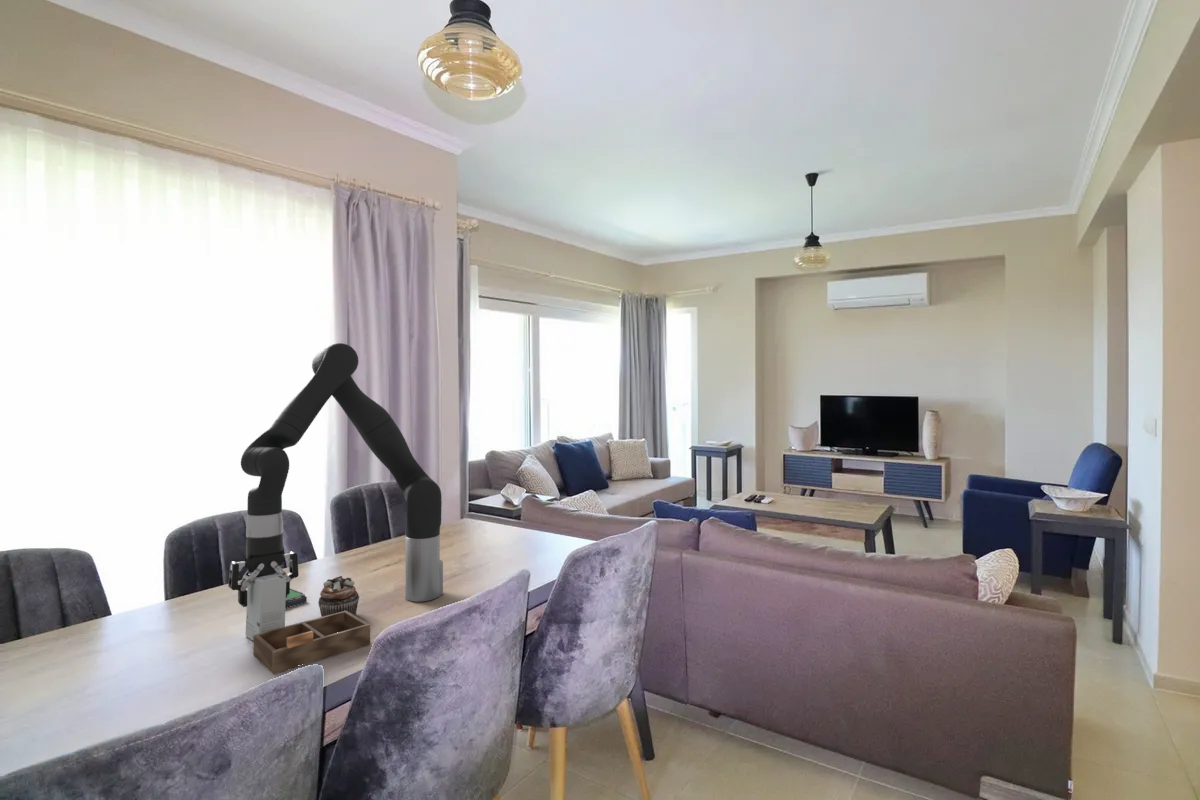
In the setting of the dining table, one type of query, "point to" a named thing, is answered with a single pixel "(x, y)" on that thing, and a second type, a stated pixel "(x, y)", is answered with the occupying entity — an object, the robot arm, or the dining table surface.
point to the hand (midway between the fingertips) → (264, 601)
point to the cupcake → (338, 596)
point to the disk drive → (295, 598)
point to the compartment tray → (310, 641)
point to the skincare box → (265, 604)
